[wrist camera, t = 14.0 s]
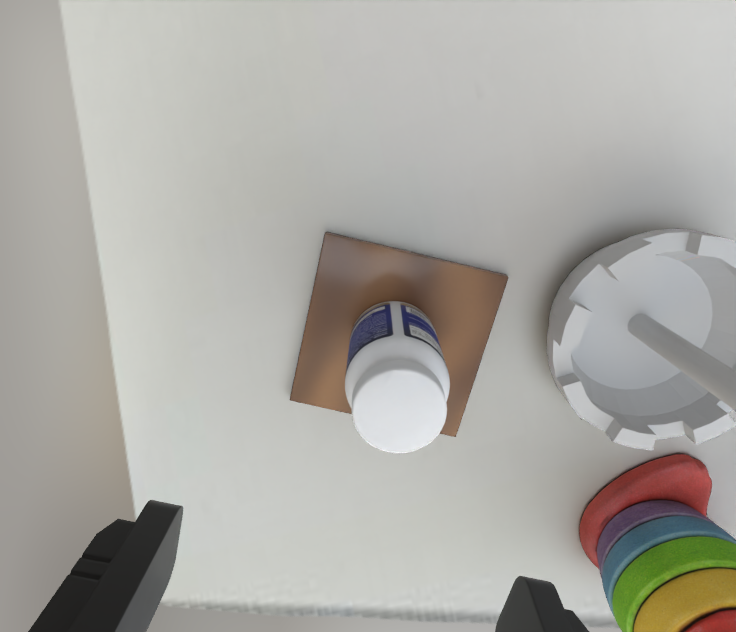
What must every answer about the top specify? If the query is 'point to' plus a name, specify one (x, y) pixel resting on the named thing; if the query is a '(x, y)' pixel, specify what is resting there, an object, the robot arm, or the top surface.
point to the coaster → (393, 283)
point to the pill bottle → (396, 378)
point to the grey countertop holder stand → (649, 337)
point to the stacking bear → (662, 550)
